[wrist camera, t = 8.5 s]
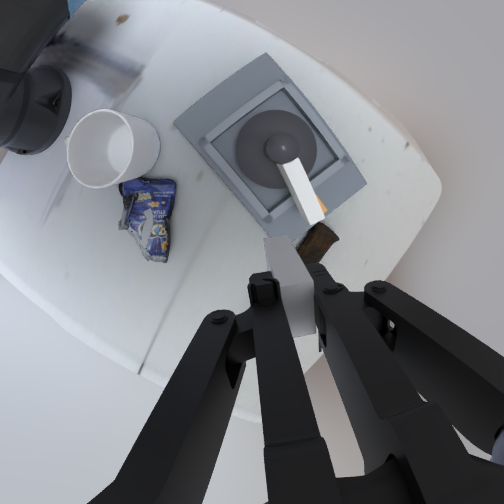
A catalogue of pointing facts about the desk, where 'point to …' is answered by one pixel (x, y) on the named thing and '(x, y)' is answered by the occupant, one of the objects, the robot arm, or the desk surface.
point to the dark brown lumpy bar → (317, 244)
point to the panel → (231, 122)
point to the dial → (281, 157)
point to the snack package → (161, 202)
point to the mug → (111, 148)
